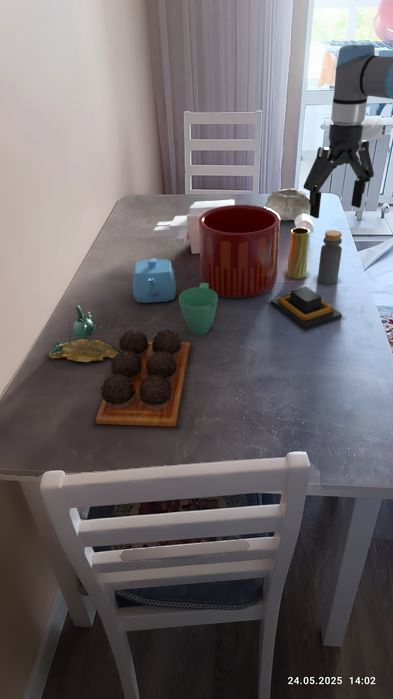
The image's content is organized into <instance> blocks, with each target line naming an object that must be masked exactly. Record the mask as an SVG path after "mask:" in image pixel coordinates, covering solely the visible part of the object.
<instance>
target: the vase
mask: <svg viewBox="0 0 393 699" xmlns="http://www.w3.org/2000/svg"><path fill="white" fill-rule="evenodd" d="M309 236H310V235H309V230H308V229H306V228H296V227H294V228H292V229H291V230H290V240H289V241H290V243H289V251H288V261H287V269H286V276H287V277H289V278H291V279H294V280H298V279H299V280H300V279H304V278H305V277H306V276H307V263H308V262H307V261H308V251H309V250H308V249H309Z"/></svg>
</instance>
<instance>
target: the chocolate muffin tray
mask: <svg viewBox="0 0 393 699" xmlns="http://www.w3.org/2000/svg"><path fill="white" fill-rule="evenodd" d="M118 341H119V342H118V343H117V345H119V346H118V347H119V353H118V354H116V356H114V358H112V360H111V362H110V373H111V376H109V377H108V378H107V377H106V378H105V380H104V381H103V384H102V386H101V387H100V391H101V392H100V394H101V400H102V401H101V403H100V407H99V409H98V413H97V415H96V418H95V423H96V425H117V426H118V425H119V426H121V425H122V426H146V427H147V426H149V427H150V426H151V427H175V428H176V426H177V421H178V416H179V410H180V405H181V399H182V392H183V387H184V381H185V376H186V369H187V365H188V364H187V363H188V358H189V353H190V352H189V351H190V346H191V344H190V341H186V342H185V341H182V340H181V338H180V336H179V334H178V333H177V332H175V331H174V330H172V329H168V328H166V329H163V330H160V331H157V332H156V333H155V334H154V335H153V339H152V341H149V339H148V337H147V335H146V334H145V333H144V332H143V331H141V330H139V329H134V328H131V329H129V330H127V331H124V333H122V334H121V336H120V338H119V339H118Z"/></svg>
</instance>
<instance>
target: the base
mask: <svg viewBox="0 0 393 699" xmlns="http://www.w3.org/2000/svg"><path fill="white" fill-rule="evenodd" d="M290 296H291V293H287V294H285V295H282V296H278V297H274V298H272V299H270V302H269V304H270V305H272V307H274V308H276V309H277V310H279V311H280V312H281V313H282V314H283V315H285V317H287V318H288V319H290V320H291V321H292V322H294V324H296V325H297V326H299V327H300V328H302V329H303V330H304V331H307V330H310V329H313V328H315V327H318V326H319V327H320V326H322V325H324V324H327V323H331V322H333V321H336V320H339V319H342V316H343V314H342V313H341V312H339V311H338V310H337V309H335V308H334V307H333V306H332V305H330V304H329V303H327V302H326V301H324V300H323V299H321V307H320V310H318V311H315V312H312V313H309V314H306V315H305V314H304V313H302V312H301V311H300V310H298V309H297V308H296V307H294V306H293V305H291V304H290Z"/></svg>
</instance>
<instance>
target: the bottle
mask: <svg viewBox="0 0 393 699" xmlns="http://www.w3.org/2000/svg"><path fill="white" fill-rule="evenodd" d="M342 235H343V233H342V231H341V230H336V229H329V230H328V229H327V230H326V231H325V232H324V237H323V240H322V241H323V243H324V244H322V245H321V247H320V255H319V264H318V274H317V281H318V282H319V283H321V284H325V285H332V284H333V285H334V284H336V283H337V282H338V278H339V271H340V264H341V259H342V253H343V252H342V251H343V247H342V246H341V244H342V243H343V239H342Z"/></svg>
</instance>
